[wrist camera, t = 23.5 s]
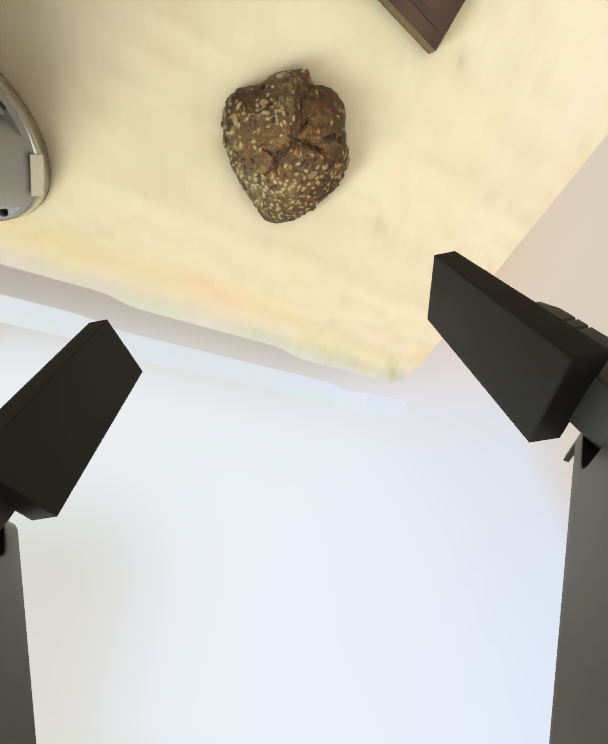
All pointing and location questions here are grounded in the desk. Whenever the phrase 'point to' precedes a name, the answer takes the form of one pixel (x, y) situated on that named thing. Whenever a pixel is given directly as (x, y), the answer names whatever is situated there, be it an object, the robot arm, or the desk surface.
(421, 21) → the bread board
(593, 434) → the robot arm
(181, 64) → the desk surface
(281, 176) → the bread roll
